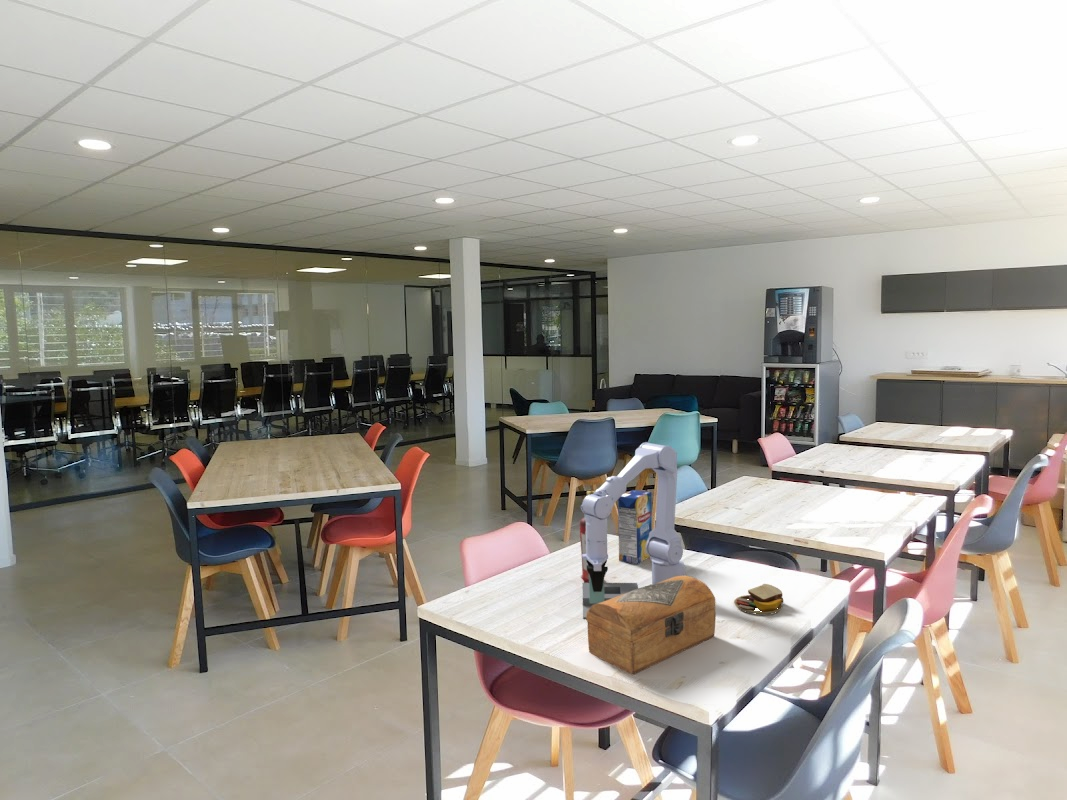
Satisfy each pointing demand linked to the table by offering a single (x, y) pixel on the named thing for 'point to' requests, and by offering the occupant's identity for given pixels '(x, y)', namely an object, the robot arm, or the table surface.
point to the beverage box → (634, 525)
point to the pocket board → (609, 591)
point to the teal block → (595, 594)
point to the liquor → (584, 545)
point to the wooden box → (651, 623)
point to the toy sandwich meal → (761, 600)
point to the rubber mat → (585, 611)
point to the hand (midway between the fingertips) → (597, 588)
